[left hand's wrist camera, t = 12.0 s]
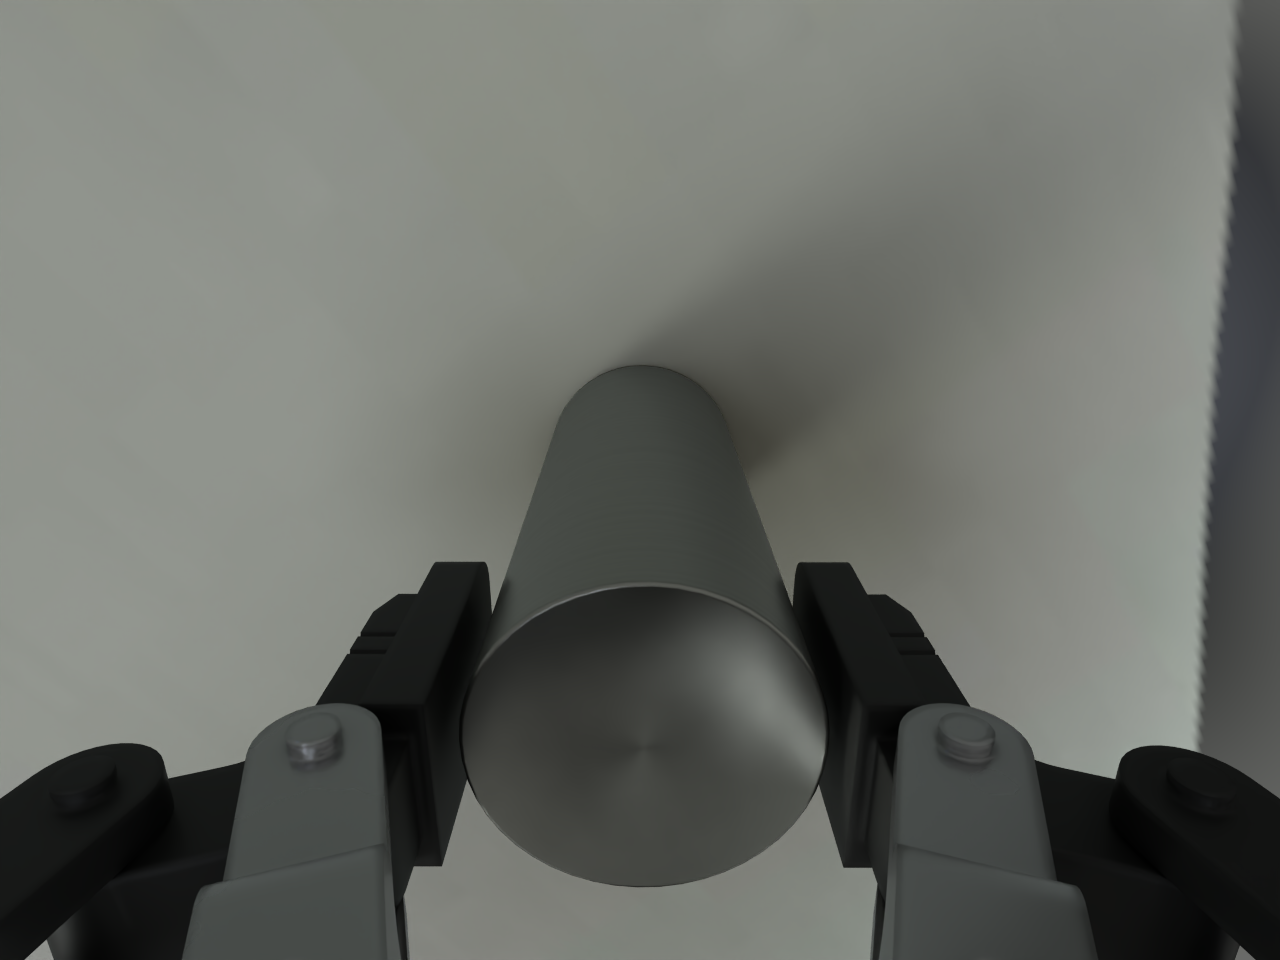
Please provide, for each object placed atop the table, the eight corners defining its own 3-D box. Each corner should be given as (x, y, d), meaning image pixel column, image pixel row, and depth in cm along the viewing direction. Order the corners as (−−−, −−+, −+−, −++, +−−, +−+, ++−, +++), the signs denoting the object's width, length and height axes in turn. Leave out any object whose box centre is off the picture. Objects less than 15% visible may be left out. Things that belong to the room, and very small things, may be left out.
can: (752, 501, 20) (872, 833, 10) (591, 555, 20) (544, 926, 10) (696, 339, 18) (767, 529, 8) (525, 401, 19) (393, 653, 9)
